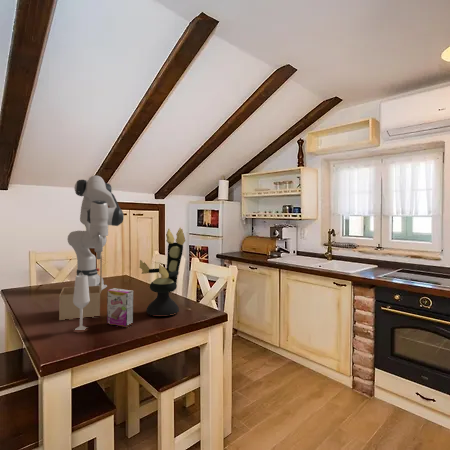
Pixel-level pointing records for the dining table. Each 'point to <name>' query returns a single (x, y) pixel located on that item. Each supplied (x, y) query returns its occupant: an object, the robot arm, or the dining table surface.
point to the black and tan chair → (166, 277)
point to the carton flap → (100, 272)
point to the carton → (71, 311)
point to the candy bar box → (120, 306)
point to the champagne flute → (81, 296)
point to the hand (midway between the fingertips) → (98, 258)
